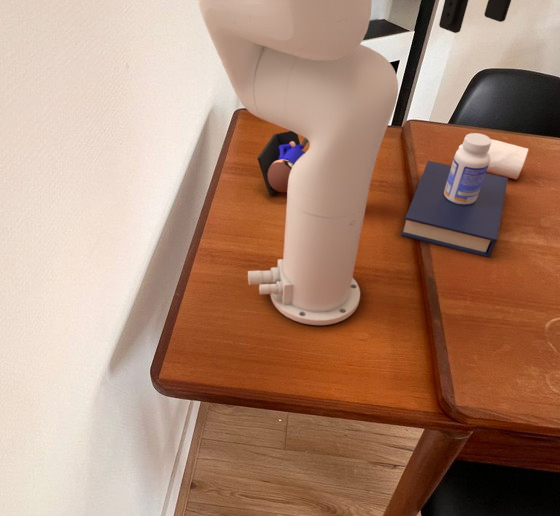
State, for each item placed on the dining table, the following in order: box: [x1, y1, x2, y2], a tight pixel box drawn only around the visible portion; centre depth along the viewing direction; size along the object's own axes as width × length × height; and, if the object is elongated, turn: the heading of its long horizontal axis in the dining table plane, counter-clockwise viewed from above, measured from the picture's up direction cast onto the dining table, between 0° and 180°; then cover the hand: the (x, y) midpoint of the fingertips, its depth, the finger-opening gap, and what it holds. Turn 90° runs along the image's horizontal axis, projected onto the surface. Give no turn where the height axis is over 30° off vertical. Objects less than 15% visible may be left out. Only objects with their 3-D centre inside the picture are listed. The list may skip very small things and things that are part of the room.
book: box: [400, 160, 509, 258], centre depth 89 cm, size 20×14×3 cm
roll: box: [458, 138, 529, 180], centre depth 98 cm, size 6×12×6 cm, turn 67°
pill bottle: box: [444, 132, 492, 204], centre depth 84 cm, size 5×5×10 cm
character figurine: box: [257, 130, 309, 197], centre depth 92 cm, size 8×7×15 cm
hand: (472, 24), depth 72 cm, fingers open, 9 cm apart
